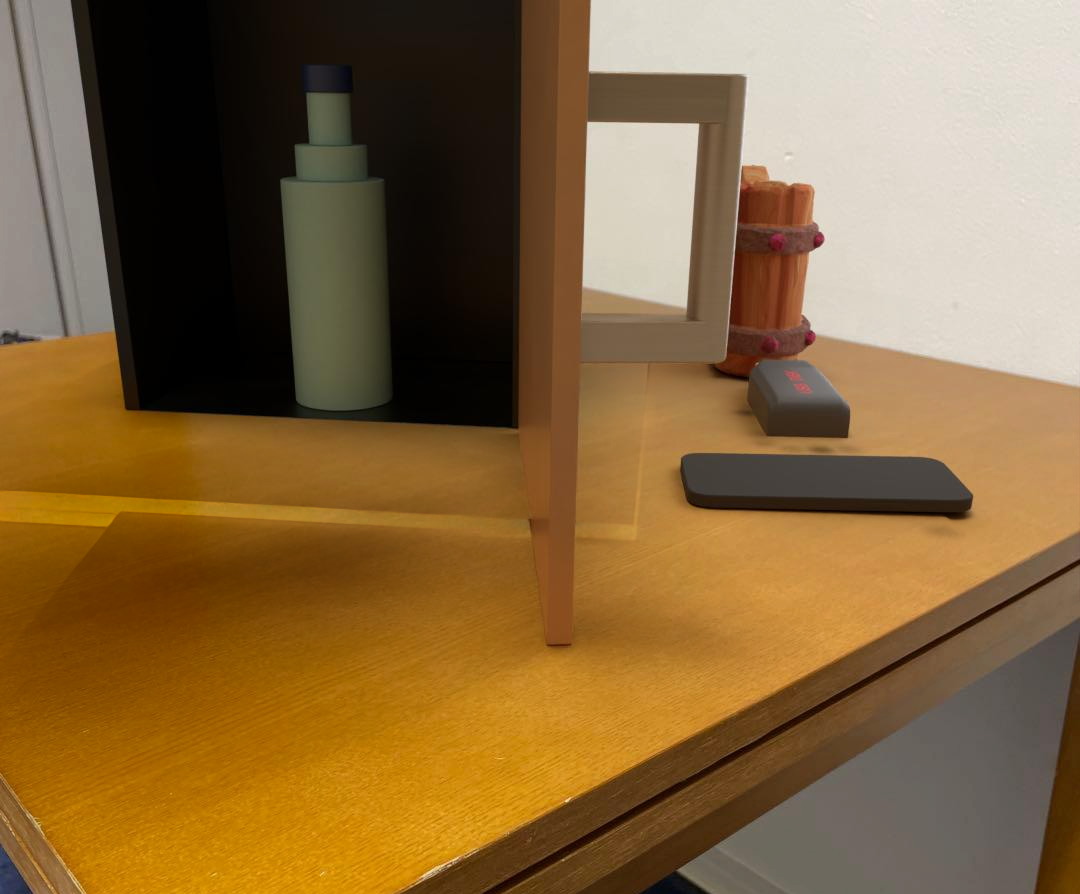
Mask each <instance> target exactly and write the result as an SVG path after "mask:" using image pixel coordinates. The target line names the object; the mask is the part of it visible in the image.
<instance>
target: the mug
mask: <svg viewBox="0 0 1080 894" xmlns="http://www.w3.org/2000/svg"><path fill="white" fill-rule="evenodd" d="M815 193H816V190H815V188H814V187H813V186H812V184H808V183H801V182H793V183H791V184H789V183H787V182H786V181H784V180H783V181H782V180H770V174H769V172H768V169H767V167H766V166H764V165H755V164H751V165H742V168H741V180H740V192H739V205H738V217H737V229H736V241H735V254H734V266H733V278H732V291H731V303H730V315H729V327H728V340H727V352H726V359H725V361H723V362H720V363H713V365H714V366H715V368H716V369H717V370H719V372H721V373H725V374H727V375H729V376H730V375H731V376H735V377H744V378H747V379H749V375H750V372H751V370H752V369H753V368H754V367H755V365H756V363H759V362H760V361H761V360H798V354H800V353H803V352H804V351H805V350H806V349H807V348H808V347H810V346H812V345H813V344H814V342H815V341H816V337H817V336H816V332H815V331H814V330H812V329H811V325H812V324H811V322H810V320H809V319H808V318H807V317H806V316H805V315H804V314H803V307H804V297H805V289H806V281H807V275H808V274H807V273H808V268H809V261H810V260H809V259H810V253H811V252H813V251H815V250H816V249H818V248H820V247H822V245H823V244H824V242H825V235H824V234H823V232H822V231H819V230H820V227H819V225H818V223H817V222H815V221H814V220H813V215H814V204H815V203H814V200H815ZM733 374H734V375H733Z"/></svg>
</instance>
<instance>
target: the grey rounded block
mask: <svg viewBox="0 0 1080 894" xmlns="http://www.w3.org/2000/svg"><path fill="white" fill-rule="evenodd" d="M746 401H747V403H748V405H749V407H750V409H751V411H752V413H753V415H754V417H755V418H756V420H757V421H758V424H759V425H760V427H761V429H762V430H763V433H764V434H765V436H766V437H788V438H789V437H790V438H791V437H792V438H827V439H828V438H831V439H832V438H834V439H836V438H838V439H839V438H840V439H848V438H849V431H850V423H851V407H850V405H849V403H848V401H847V400H846V399H845V398H844V397H843V395H841V393H840V392H839V391H838V390H837V388H835V386H834V385H833V384H832V383H831V382H830V380H829V379H828V378H827V377H826V376H825V375H824V374H823V373H822V372H821V371H820V370H819V369H817V367H815V366H814V365H813V364H811V363H810V362H809V361H808V360H804V359H803V360H801V359H797V360H761V361H760V362H759V363H756V365H755V367H754V368H753V369H752V370H751V372H750V375H749V378H748V385H747V397H746Z"/></svg>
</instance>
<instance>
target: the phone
mask: <svg viewBox="0 0 1080 894" xmlns="http://www.w3.org/2000/svg"><path fill="white" fill-rule="evenodd" d="M679 470H680V475H681V479H682V484H683V489H684V493H685V497H686V499H687V501H688V502H689V503H690V504H691V505H694V506H698V507H702V508H716V509H717V508H719V509H760V510H761V509H763V510H764V509H765V510H773V509H774V510H809V511H811V510H815V511H817V510H818V511H860V512H861V511H865V512H867V511H868V512H908V513H909V512H910V513H911V512H912V513H913V512H914V513H915V512H917V513H964V512H967V511H971V509H972V506H973V500H974V494H973V493H972V492H971V490H970V489H969V488H968V487H967V486H966V485H965V484H964V483H963V482H962V481H961V480H960V479H959V477H957V475H955V473H954V472H953V471H952V470H951V469H950V468H949V467H948V465H946V464H945V463H944V462H943V461H941V460H939V459H935V458H932V457H926V456H925V457H924V456H902V455H901V456H898V455H897V456H895V455H894V456H892V455H891V456H890V455H847V454H846V455H841V454H840V455H839V454H838V455H837V454H793V453H792V454H788V453H786V454H785V453H784V454H783V453H777V454H776V453H736V452H735V453H733V452H731V453H730V452H692V453H687V454H684V455H682V456H681V458H680V466H679Z"/></svg>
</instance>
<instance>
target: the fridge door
mask: <svg viewBox="0 0 1080 894" xmlns="http://www.w3.org/2000/svg"><path fill="white" fill-rule="evenodd" d="M591 16H592V0H522V41H521V167H520V292H519V417H518V429H517V430H518V431H517V432H518V440H519V446H520V453H521V460H522V468H523V473H524V480H525V488H526V494H527V501H528V506H529V508H528V509H529V513H530V518H528V522H529V523H528V524H529V529H530V536H531V544H532V550H533V557H534V563H535V571H536V577H537V578H536V579H537V585H538V590H539V591H538V592H539V600H540V606H541V613H542V619H543V627H544V634H545V640H546V645H572V643H573V626H574V625H573V622H574V591H575V590H574V589H575V587H574V586H575V584H574V583H575V582H574V581H575V558H576V557H575V552H576V525H577V524H576V523H577V522H576V521H577V520H576V519H577V491H578V489H577V487H578V456H579V455H578V453H579V451H578V450H579V422H580V421H579V420H580V391H581V390H580V388H581V384H580V383H581V364H589V365H591V364H596V365H597V364H598V365H599V364H607V365H609V364H614V365H615V364H618V365H619V364H620V365H621V364H623V365H627V364H631V365H632V364H638V365H639V364H641V365H642V364H643V365H646V364H648V365H649V364H650V365H651V364H652V365H653V364H656V365H657V364H659V365H660V364H665V365H666V364H667V365H670V364H671V365H672V364H675V365H677V364H678V365H679V364H680V365H682V364H683V365H684V364H685V365H686V364H690V365H691V364H694V365H695V364H698V365H699V364H700V365H701V364H703V365H704V364H705V365H706V364H714V363H720V362H723V361H725V359H726V352H727V340H728V327H729V315H730V303H731V291H732V278H733V266H734V254H735V241H736V229H737V217H738V205H739V192H740V180H741V168H742V166H743V155H744V142H745V132H746V131H745V130H746V116H747V104H748V93H749V80H750V77H749V74H747V73H719V72H717V73H714V72H713V73H711V72H709V73H708V72H663V71H662V72H661V71H660V72H657V71H656V72H655V71H652V72H651V71H606V70H605V71H601V70H599V71H597V70H590V55H591V54H590V51H591V20H592V19H591V18H592V17H591ZM588 123H625V124H626V123H627V124H628V123H629V124H633V123H634V124H692V125H693V124H698V133H697V134H698V135H697V148H696V149H697V150H696V164H695V176H694V177H695V180H694V195H693V206H692V207H693V210H692V225H691V239H690V240H691V241H690V252H689V253H690V254H689V267H688V268H689V269H688V285H687V300H686V313H684V312H683V313H672V312H671V313H667V312H665V313H663V312H662V313H659V312H658V313H656V312H655V313H651V312H649V313H648V312H647V313H646V312H643V313H641V312H640V313H639V312H634V313H633V312H630V313H629V312H623V313H622V312H617V313H616V312H583V286H584V285H583V284H584V256H585V255H584V254H585V253H584V252H585V250H584V249H585V217H586V190H587V189H586V188H587V187H586V184H587V155H588V154H587V152H588V150H587V149H588Z"/></svg>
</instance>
